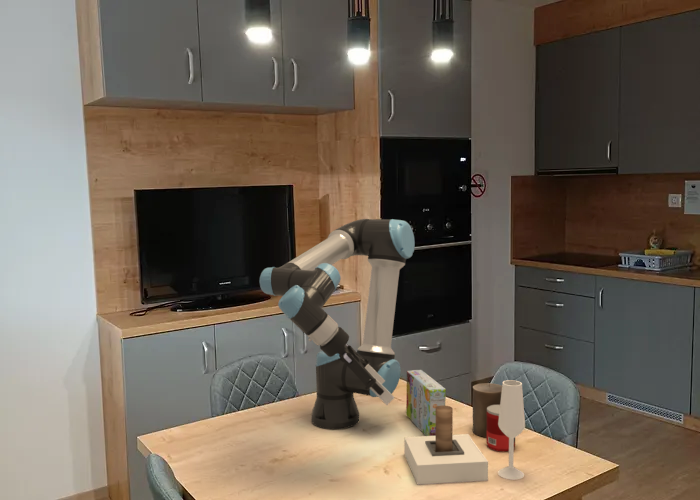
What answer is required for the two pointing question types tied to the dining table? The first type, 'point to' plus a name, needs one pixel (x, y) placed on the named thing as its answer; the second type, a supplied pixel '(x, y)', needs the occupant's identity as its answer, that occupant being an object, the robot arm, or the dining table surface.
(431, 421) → the snack box
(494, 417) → the canned food
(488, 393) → the pillar candle
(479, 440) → the dining table surface
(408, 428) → the dining table surface
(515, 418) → the champagne flute
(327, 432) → the dining table surface
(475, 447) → the socket block
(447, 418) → the peg
